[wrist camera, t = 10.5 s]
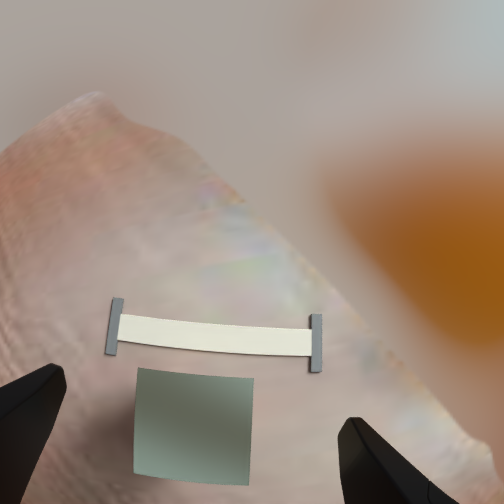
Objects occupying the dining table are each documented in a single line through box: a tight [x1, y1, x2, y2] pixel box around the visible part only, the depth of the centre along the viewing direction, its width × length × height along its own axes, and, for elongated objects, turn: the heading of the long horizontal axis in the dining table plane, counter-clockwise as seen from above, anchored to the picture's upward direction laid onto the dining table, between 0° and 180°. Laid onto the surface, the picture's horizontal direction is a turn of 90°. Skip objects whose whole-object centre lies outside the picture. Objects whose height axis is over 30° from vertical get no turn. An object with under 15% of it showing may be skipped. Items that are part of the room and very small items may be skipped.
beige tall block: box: [134, 368, 254, 485], centre depth 15 cm, size 4×4×12 cm
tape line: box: [106, 298, 322, 372], centre depth 22 cm, size 16×4×1 cm, turn 87°
